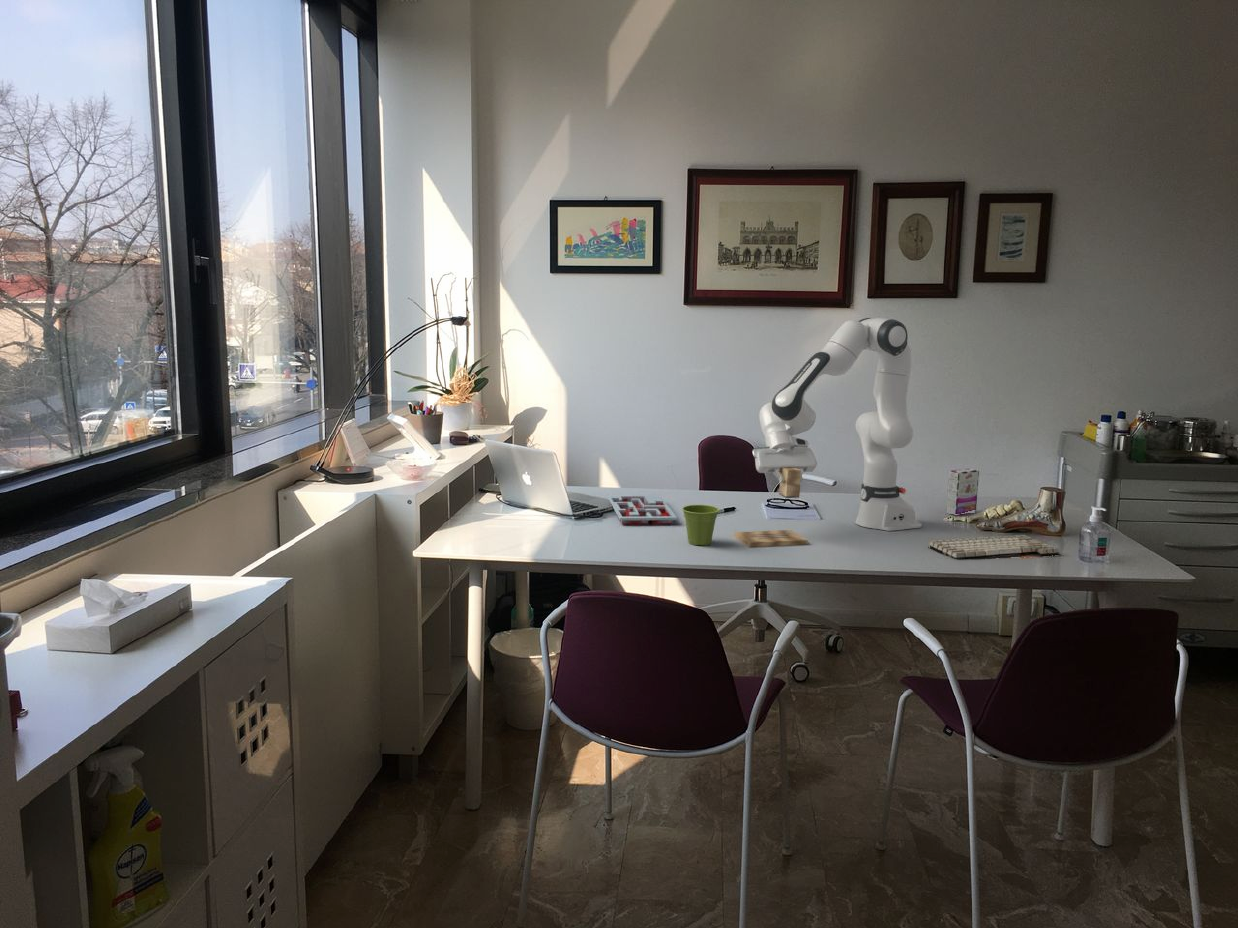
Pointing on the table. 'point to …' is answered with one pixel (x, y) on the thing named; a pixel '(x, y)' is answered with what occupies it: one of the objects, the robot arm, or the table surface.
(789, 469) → the block
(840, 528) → the table surface
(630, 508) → the maze game
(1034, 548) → the mechanical keyboard
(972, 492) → the candy bar box
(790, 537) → the board
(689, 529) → the plant pot
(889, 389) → the robot arm
